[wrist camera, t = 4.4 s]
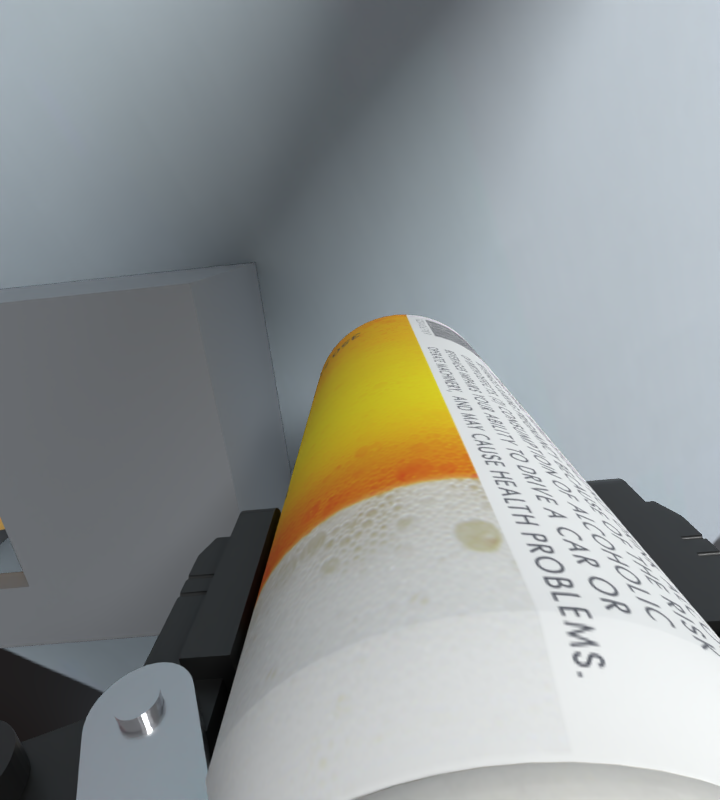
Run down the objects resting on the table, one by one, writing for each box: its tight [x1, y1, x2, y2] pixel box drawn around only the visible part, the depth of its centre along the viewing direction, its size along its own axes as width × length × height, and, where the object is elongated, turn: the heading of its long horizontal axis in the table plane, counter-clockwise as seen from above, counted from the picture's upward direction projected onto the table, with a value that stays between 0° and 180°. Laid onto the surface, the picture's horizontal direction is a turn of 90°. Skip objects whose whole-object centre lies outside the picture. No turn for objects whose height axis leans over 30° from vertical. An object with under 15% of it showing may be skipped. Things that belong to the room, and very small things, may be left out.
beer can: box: [205, 315, 720, 800], centre depth 11 cm, size 6×6×15 cm
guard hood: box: [0, 262, 291, 648], centre depth 22 cm, size 18×14×10 cm
